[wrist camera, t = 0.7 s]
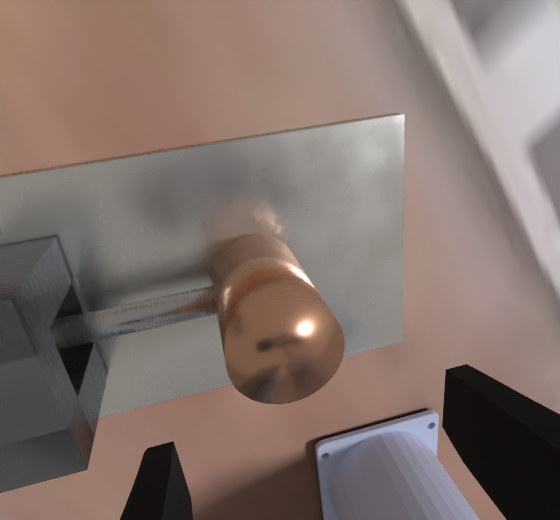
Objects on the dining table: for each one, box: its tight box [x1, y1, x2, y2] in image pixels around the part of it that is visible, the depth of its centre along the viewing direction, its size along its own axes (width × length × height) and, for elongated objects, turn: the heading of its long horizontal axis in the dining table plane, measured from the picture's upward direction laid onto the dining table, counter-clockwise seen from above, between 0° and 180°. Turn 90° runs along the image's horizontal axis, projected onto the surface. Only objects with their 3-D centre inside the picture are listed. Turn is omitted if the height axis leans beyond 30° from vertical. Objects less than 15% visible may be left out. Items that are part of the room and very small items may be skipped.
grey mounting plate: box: [0, 113, 404, 493], centre depth 17 cm, size 12×23×6 cm, turn 97°
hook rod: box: [49, 235, 345, 404], centre depth 16 cm, size 15×4×6 cm, turn 97°
